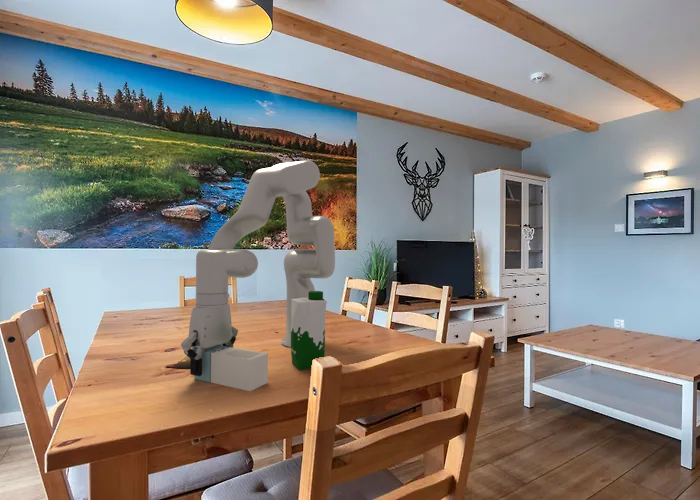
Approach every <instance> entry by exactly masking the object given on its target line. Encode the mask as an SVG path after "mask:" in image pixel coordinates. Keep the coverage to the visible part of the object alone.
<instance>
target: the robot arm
mask: <svg viewBox="0 0 700 500" xmlns="http://www.w3.org/2000/svg"><path fill="white" fill-rule="evenodd" d="M320 176H321V175H320V168H319V167H318V165H317V164H316V163H315V162H314V161H313V160H309V159H307V160H298V161H289V162H281V163H277V164H275V165H272V166H271V167H265V168H263V167H262V168H260V169H257V170H256V171H254V172H253V174H252V175H251V177H250V180H249V183H248V184H247V187H246V190H245V192H244V195H243V198H242V200H241V203H240V205H239V206H238V207H239V208H238V210H237V212H235V213H234V214H233V215H232V216H231V217H230V218H228V220H227V221H226V222H225V223H224V224H223V225H222V226H220V228H219V229H218V230H217V231H216V233H215V235H214V236H213V238H212V240H211V242H210V245H209V247H208V249H202V250H198V251H197V253H196V258H195V306H193V307H192V309H191V314H190V317H189V318H190V319H189V327H188V329H189V330H188V336H187V337H186V338H185V339H184V340H183V341H182V342H181V343H180V347H181V348H182V350H183V353H184V355H185V354H186V355H187V356H188V358H190V369H189V371H190V375H191V376H194V375H195V376H201V375H202V359H200V357H201V355H202V353H203V351H204V349H208V348H211V347H215V346H218V345H221V346H226V347H232V348H234V344H235V342H236V340H237V335H238V333H239V329H237V328H236V327H234V326H232V324H233V323H232V314H231V307H230V304H229V298H230V293H229V278H237V279H238V278H239V279H245V278H249V277H250V276H252V275H253V274H255V273H256V271H257V270H258V266H259V261H258V257H257V256H256V254H255V253H254V252H252V251H250V250H247V249H243V248H237V249H236V248H235V247H236V245H237V243H239V241H240V240H241V239H242V238H243V239H244V237H245V236H248V235H249V234H251V233H252V232H255V231H257V230H260V229H261V228H262V227H265V225H266V224H267V223H268V221H269V218H270V215H271V212H272V210H273V207H274V204H275V201H276V199H277V198H278V197H280V198H281V197H282V198H283V201H284V204H285V212H286V216H285V218H286V233H287V239H288V241H289V243H291V244H292V245H296V246H314V248H315V249H314V248H312V249H310V248H295V249H292V250H289V251H288V252H287V253H286V254H285V255H284V259H283V269H284V272H285V273H284V274H285V280H286V313H285V314H286V316H285V317H286V331H285V332H286V334H285V335H286V337H283V338H282V339H281V345H283V346H285V347H287V348H288V347H289V348H291V299H300V298H309V297H308V295H309V292H310V291H316V289H315V286H314V284H313V282H312V280H311V279H328V278H330V277H331V276H332V275H334V272H335V268H336V250H335V249H336V248H335V245H336V244H335V230H334V226H333V222H332V221H331V220H330V219H329V218H328V217H326V216H323V215H313V211H312V210H313V208H312V201H311V197H310V195H309V194H308V193H307V191H308V190H311V189H313V188H315V187H316V186H317V185H318V184H319V182H320V179H321V177H320ZM197 349H198V351H197V353H196V350H197Z"/></svg>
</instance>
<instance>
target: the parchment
mask: <svg viewBox="0 0 700 500" xmlns="http://www.w3.org/2000/svg"><path fill="white" fill-rule="evenodd" d="M220 346H221V345H220ZM182 357H183V359H180V361H178V362H177V363H175V364H174V365H173V366H172V368H174V369H177V370H178V369H189V370H190V358H188V356H187V355H186V354H185V353H184V355H182ZM166 368H169V366H168V365H167V366H166Z"/></svg>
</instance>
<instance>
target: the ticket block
mask: <svg viewBox="0 0 700 500" xmlns="http://www.w3.org/2000/svg"><path fill="white" fill-rule="evenodd" d="M268 355H269V353H268V352H262V351H261V352H260V351H255V350H250V349H249V350H248V349H243V348H239V347H238V348H237V347H233V348H232V347H227V348H224V349H222V350H218V351H214V352H212V353H211V382H210V383H212V384H216V385H220V386H224V387H230V388H234V389H238V390H243V391H247V392H252V391H254V390H256V389H258V388H261V387H263V386H264V385H266V384H268V377H269V375H268V369H269V367H268V362H269V357H268Z"/></svg>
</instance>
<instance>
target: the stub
mask: <svg viewBox="0 0 700 500" xmlns="http://www.w3.org/2000/svg"><path fill="white" fill-rule="evenodd" d="M224 348H227V347H226V346H220V345H218V346H215V347H211V348H208V349H204V351H203V353H202V355H201V357H200V359H202V375H201V376H195V375H193V378H194V380H197V381H202V382H207V383H211V353H212V352H214V351H218V350H222V349H224ZM197 351H198V349H197V350H196V353H197Z"/></svg>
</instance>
